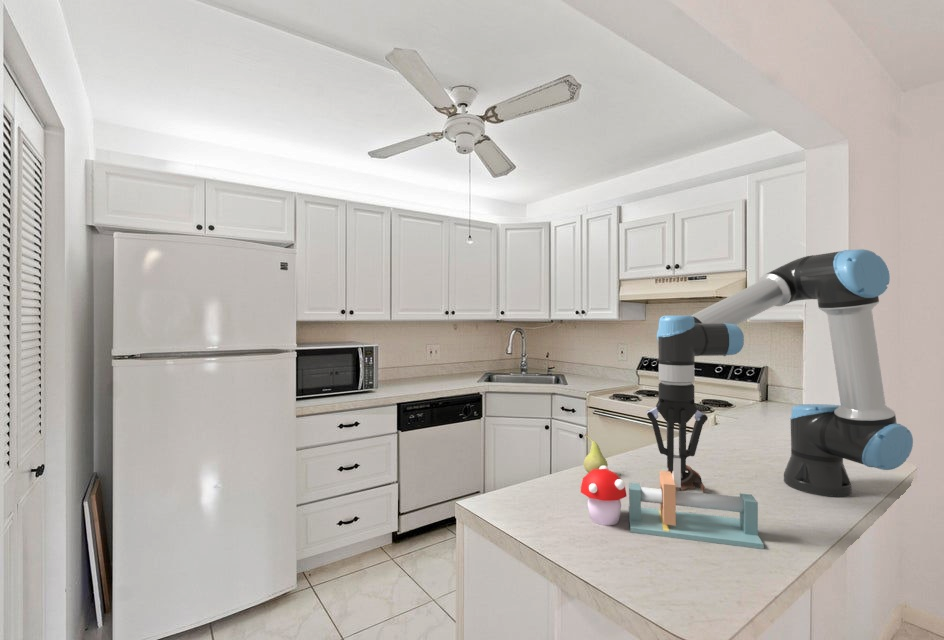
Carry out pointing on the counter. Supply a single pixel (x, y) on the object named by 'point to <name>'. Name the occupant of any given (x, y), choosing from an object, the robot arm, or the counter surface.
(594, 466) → the fruit
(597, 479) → the mushroom
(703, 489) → the pottery mug
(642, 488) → the pipe rig
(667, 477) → the peach rectangular collar
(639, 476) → the counter surface
